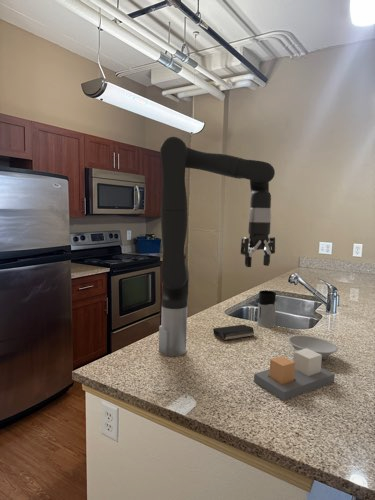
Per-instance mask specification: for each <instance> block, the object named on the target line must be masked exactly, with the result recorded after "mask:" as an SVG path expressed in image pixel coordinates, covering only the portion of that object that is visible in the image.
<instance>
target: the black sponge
mask: <svg viewBox="0 0 375 500" xmlns="http://www.w3.org/2000/svg"><path fill="white" fill-rule="evenodd" d="M212 330H213V335H214V336H216V337H218V338H219V339H222V340H225V341H226V340H233V339H240V338H245V337H246V338H247V337H250V336H251V337H252V336H253V335H254V334H255V332H254V331H255V330H254V327H252V326H249V325H245V324H237V325H231V326H221V327H214V328H213V329H212Z"/></svg>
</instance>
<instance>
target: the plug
mask: <svg viewBox="0 0 375 500" xmlns="http://www.w3.org/2000/svg"><path fill="white" fill-rule="evenodd" d="M269 369H270V375H269V377H270V378H271V379H273V380H275V381H276V382H278V383H280V384H281V385H284V384H287V383H290V382H293V381H294V372H295V362H294V360H291V359H289V358H287V357H285V356H283V355H281V356H277V357H274V358H270V360H269Z"/></svg>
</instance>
